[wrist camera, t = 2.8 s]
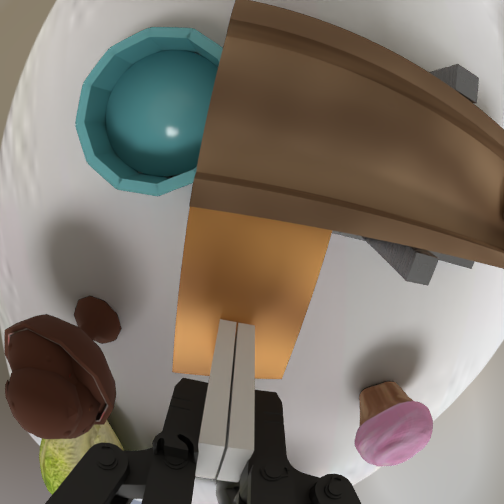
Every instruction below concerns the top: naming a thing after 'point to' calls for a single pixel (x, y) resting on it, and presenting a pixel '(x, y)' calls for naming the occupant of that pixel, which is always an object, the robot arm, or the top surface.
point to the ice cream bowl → (62, 371)
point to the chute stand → (411, 258)
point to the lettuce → (70, 453)
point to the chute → (322, 176)
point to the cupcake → (391, 425)
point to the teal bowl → (148, 109)
